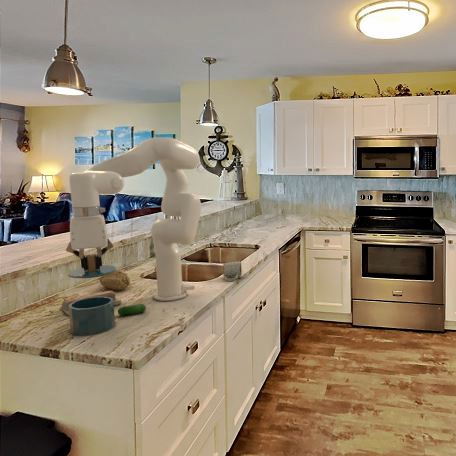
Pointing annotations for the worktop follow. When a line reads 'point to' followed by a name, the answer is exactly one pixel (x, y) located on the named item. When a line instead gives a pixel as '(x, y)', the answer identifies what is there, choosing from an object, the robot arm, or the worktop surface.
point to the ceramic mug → (232, 270)
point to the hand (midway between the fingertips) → (92, 268)
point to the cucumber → (131, 309)
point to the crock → (91, 315)
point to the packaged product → (101, 294)
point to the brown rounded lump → (115, 280)
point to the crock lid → (91, 269)
